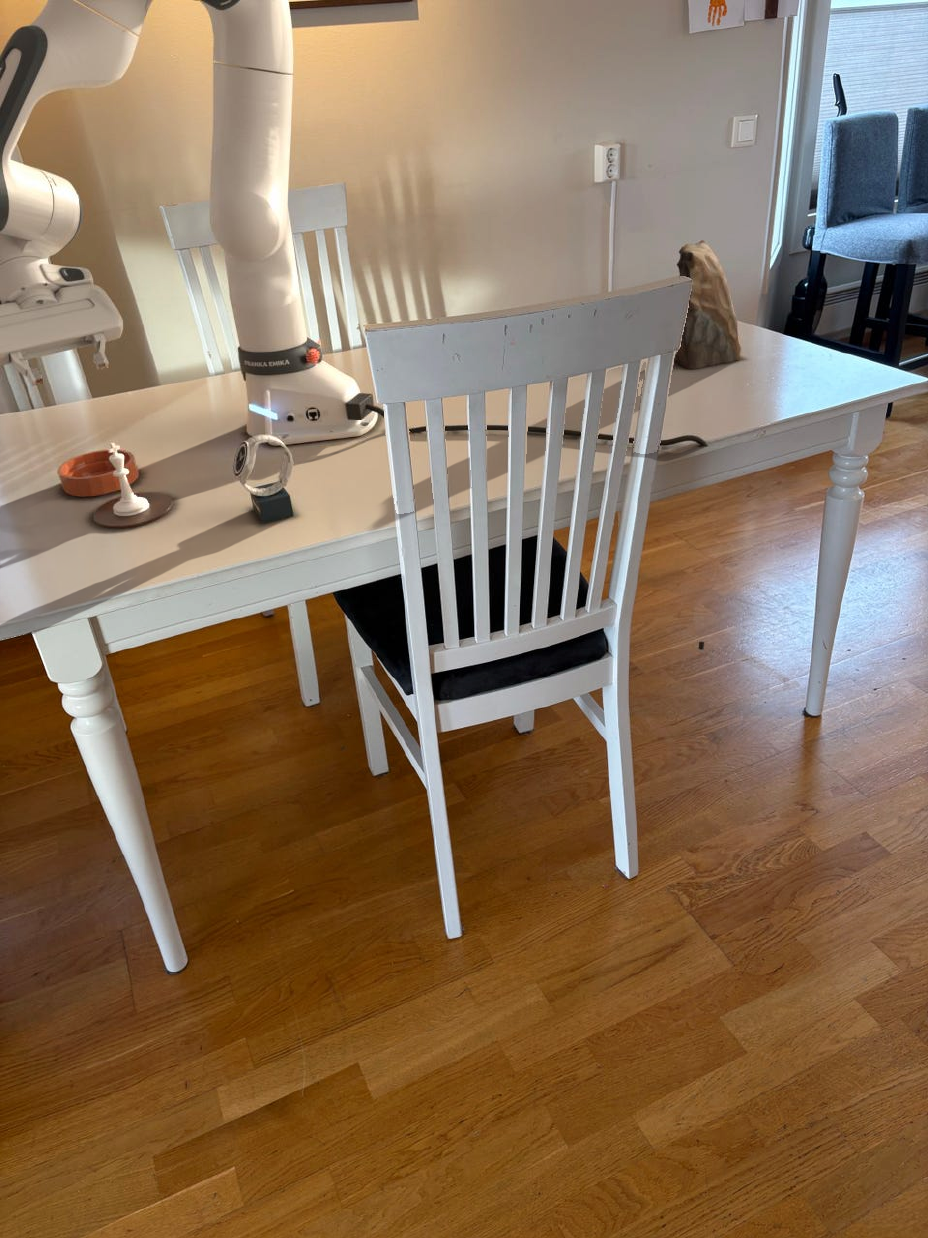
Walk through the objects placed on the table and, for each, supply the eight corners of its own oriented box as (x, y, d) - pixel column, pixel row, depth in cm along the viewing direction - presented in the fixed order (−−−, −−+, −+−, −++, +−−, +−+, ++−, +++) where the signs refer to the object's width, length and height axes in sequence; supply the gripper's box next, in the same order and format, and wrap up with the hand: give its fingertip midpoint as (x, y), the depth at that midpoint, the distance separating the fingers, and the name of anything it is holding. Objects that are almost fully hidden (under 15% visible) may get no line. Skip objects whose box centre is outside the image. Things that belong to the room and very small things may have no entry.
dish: (149, 466, 144) (144, 447, 142) (123, 496, 134) (117, 476, 132) (81, 469, 144) (75, 450, 143) (51, 499, 135) (44, 480, 133)
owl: (686, 371, 165) (693, 256, 154) (649, 354, 175) (654, 245, 164) (743, 359, 168) (755, 246, 157) (704, 343, 178) (712, 235, 167)
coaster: (182, 493, 134) (181, 490, 134) (158, 527, 125) (157, 524, 124) (111, 496, 135) (110, 493, 134) (81, 530, 126) (80, 527, 125)
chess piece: (156, 504, 130) (138, 439, 125) (129, 518, 127) (109, 452, 121) (133, 498, 132) (114, 434, 127) (106, 512, 129) (86, 446, 124)
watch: (239, 512, 127) (223, 438, 121) (294, 498, 130) (281, 425, 124) (249, 527, 123) (233, 451, 117) (306, 512, 125) (292, 438, 119)
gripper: (-49, 294, 122) (-7, 380, 121) (99, 266, 132) (140, 345, 131) (-44, 322, 128) (-3, 404, 126) (98, 293, 138) (137, 369, 136)
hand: (71, 374), depth 129 cm, fingers open, 8 cm apart
